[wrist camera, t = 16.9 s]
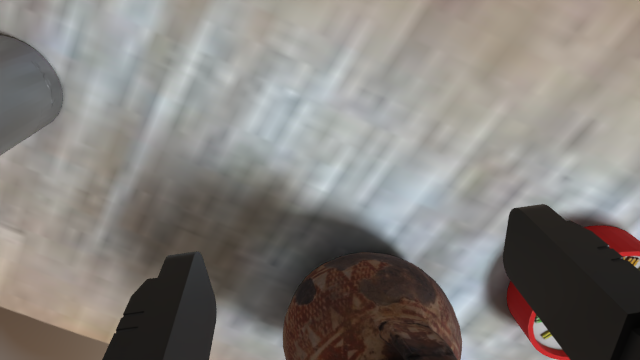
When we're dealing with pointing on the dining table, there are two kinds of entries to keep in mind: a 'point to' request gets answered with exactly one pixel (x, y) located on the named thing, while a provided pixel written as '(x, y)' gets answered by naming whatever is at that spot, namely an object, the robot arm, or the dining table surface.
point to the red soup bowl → (529, 321)
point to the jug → (370, 313)
